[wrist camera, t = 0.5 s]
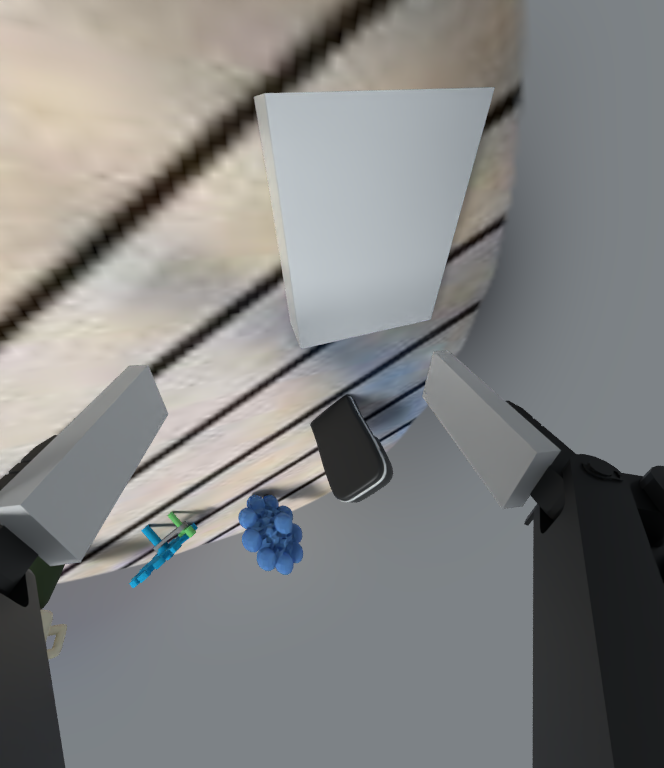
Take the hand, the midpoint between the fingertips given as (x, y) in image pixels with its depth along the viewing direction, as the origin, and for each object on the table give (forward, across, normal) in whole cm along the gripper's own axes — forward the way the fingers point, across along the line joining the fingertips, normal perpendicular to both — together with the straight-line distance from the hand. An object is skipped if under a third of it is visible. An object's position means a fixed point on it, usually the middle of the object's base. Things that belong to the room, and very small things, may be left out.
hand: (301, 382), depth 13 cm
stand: (+12, +5, +6) cm, 14 cm away
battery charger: (+17, +4, -16) cm, 23 cm away
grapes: (+18, -6, -34) cm, 39 cm away
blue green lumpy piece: (+16, -22, -35) cm, 44 cm away
